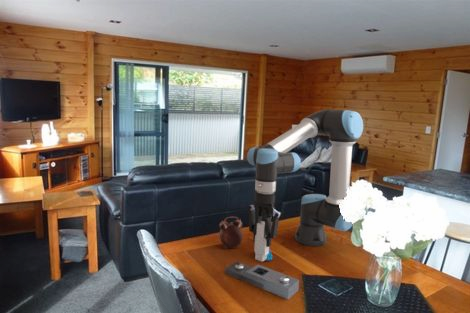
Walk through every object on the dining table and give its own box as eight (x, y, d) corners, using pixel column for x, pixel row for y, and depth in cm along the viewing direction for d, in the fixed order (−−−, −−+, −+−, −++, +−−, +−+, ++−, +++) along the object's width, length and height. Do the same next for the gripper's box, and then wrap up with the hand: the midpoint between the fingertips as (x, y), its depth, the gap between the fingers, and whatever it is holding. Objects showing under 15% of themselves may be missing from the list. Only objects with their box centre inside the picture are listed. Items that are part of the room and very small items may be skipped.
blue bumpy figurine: (269, 261, 144) (255, 241, 146) (258, 269, 146) (245, 249, 148) (277, 254, 154) (263, 236, 156) (267, 262, 156) (253, 243, 158)
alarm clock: (240, 244, 163) (241, 214, 161) (243, 249, 159) (244, 217, 156) (217, 246, 161) (218, 215, 158) (220, 250, 156) (221, 219, 154)
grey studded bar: (237, 265, 143) (237, 254, 142) (298, 290, 126) (299, 277, 125) (224, 272, 136) (225, 261, 135) (287, 299, 120) (288, 286, 119)
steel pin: (259, 256, 132) (261, 221, 129) (266, 258, 130) (269, 223, 128) (255, 259, 129) (257, 223, 127) (262, 261, 127) (264, 225, 125)
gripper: (240, 189, 127) (237, 249, 131) (279, 198, 118) (275, 262, 121) (252, 185, 133) (249, 243, 137) (290, 193, 124) (285, 255, 127)
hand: (261, 252), depth 129 cm, fingers closed on steel pin, 3 cm apart
